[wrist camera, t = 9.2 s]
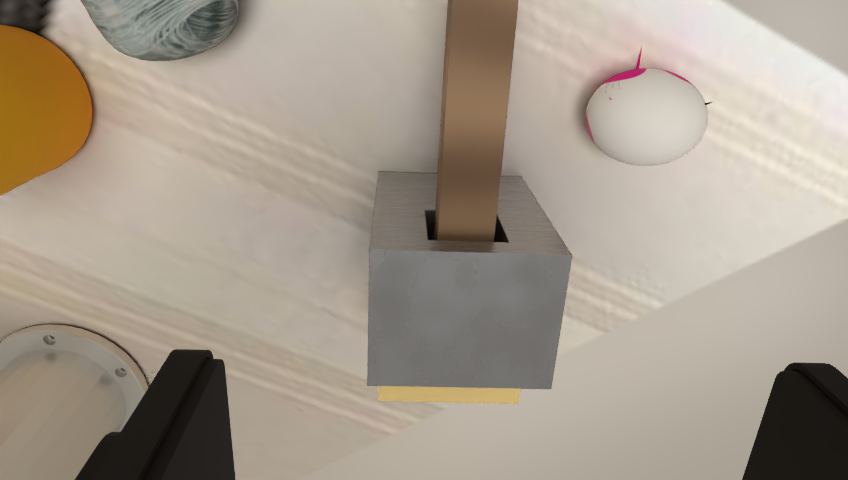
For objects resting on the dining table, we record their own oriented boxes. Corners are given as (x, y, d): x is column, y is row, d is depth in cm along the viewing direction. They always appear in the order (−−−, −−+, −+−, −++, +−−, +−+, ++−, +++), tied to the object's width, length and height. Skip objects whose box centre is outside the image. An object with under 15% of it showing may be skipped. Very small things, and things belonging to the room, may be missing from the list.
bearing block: (509, 278, 45) (551, 389, 33) (376, 275, 45) (367, 385, 32) (521, 176, 42) (571, 255, 30) (378, 171, 42) (369, 249, 29)
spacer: (497, 330, 47) (518, 403, 39) (382, 326, 47) (378, 400, 38) (503, 284, 46) (525, 351, 37) (383, 280, 45) (380, 347, 37)
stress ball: (667, 77, 43) (721, 26, 37) (675, 184, 42) (733, 150, 35) (564, 71, 43) (601, 17, 36) (568, 179, 41) (607, 144, 34)
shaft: (477, 314, 37) (483, 340, 34) (429, 313, 37) (431, 339, 34) (509, -21, 30) (520, -22, 27) (449, -24, 30) (454, -25, 27)
